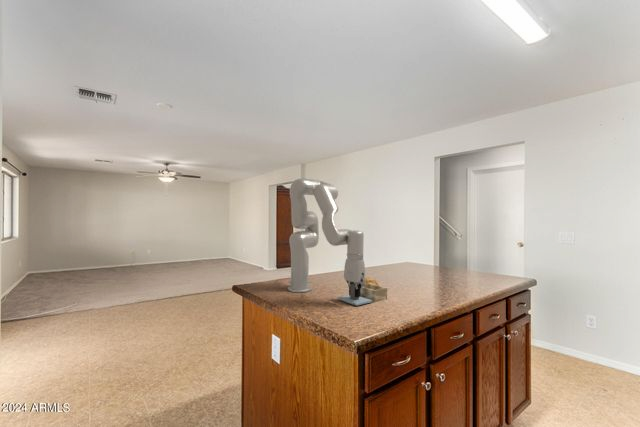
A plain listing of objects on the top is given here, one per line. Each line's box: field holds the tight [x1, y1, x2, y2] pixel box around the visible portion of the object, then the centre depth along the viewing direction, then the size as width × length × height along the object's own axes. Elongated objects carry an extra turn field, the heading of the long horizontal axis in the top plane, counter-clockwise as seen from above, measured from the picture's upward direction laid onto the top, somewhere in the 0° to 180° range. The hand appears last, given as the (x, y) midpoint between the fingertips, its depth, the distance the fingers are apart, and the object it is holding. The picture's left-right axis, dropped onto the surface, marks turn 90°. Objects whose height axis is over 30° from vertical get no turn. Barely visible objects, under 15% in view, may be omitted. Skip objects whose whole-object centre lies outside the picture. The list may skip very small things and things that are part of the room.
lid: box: [337, 283, 373, 306], centre depth 150 cm, size 13×10×8 cm
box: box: [360, 283, 388, 303], centre depth 157 cm, size 12×9×6 cm
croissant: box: [365, 276, 380, 286], centre depth 175 cm, size 21×10×8 cm, turn 17°
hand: (354, 295), depth 150 cm, fingers closed on lid, 3 cm apart
